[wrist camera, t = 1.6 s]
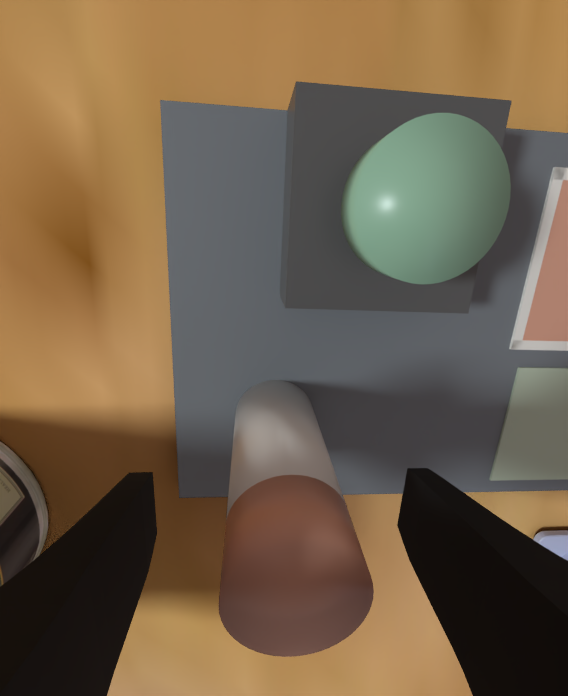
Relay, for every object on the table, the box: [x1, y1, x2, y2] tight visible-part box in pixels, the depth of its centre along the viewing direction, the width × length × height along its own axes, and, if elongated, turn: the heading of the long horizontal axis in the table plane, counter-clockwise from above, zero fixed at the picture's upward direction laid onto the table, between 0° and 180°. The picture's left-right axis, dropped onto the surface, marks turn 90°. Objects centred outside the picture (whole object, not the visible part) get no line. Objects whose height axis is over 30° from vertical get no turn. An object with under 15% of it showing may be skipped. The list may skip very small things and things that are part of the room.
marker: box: [219, 380, 373, 657], centre depth 11 cm, size 3×3×8 cm
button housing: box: [280, 82, 511, 314], centre depth 12 cm, size 6×6×2 cm
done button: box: [341, 113, 511, 284], centre depth 9 cm, size 4×4×1 cm
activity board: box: [160, 100, 568, 498], centre depth 15 cm, size 15×22×1 cm
